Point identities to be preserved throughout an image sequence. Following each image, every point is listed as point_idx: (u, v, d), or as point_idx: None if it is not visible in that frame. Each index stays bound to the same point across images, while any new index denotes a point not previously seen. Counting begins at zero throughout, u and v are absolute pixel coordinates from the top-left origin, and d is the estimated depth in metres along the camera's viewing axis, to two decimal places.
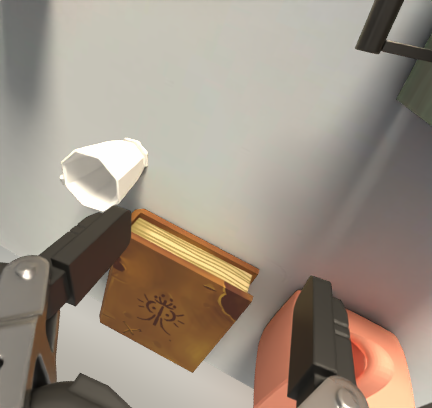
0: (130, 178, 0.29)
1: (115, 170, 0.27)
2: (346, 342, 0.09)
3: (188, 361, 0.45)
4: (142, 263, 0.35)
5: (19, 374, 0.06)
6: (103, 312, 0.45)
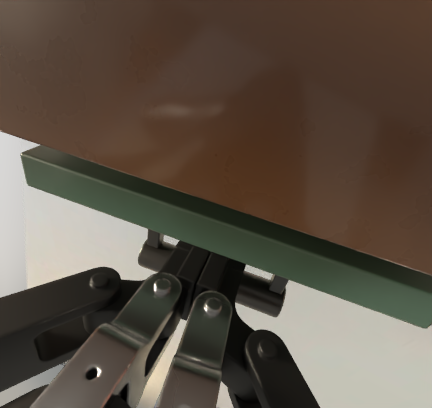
0: None
1: None
2: (238, 274, 0.10)
3: None
4: None
5: (98, 399, 0.06)
6: None
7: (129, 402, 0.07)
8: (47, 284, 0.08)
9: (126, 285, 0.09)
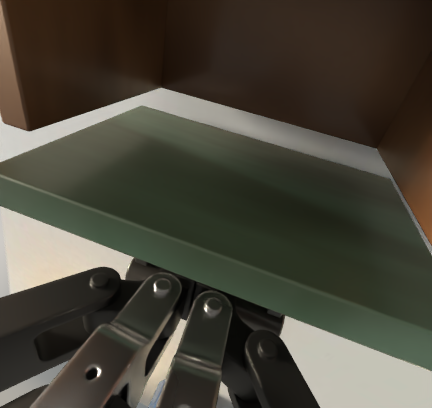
0: None
1: None
2: None
3: None
4: None
5: (98, 399, 0.06)
6: None
7: (129, 402, 0.07)
8: (47, 284, 0.08)
9: (126, 285, 0.09)
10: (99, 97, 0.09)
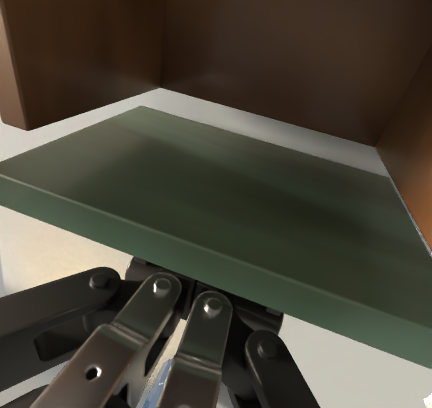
0: None
1: None
2: None
3: None
4: None
5: (98, 399, 0.06)
6: None
7: (129, 402, 0.07)
8: (47, 284, 0.08)
9: (126, 285, 0.09)
10: (98, 97, 0.09)
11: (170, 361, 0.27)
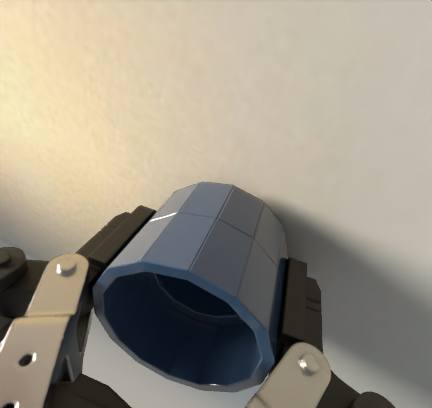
0: None
1: None
2: (317, 316, 0.09)
3: None
4: None
5: (44, 374, 0.06)
6: None
7: (73, 377, 0.08)
8: None
9: (36, 265, 0.09)
10: None
11: (178, 191, 0.12)
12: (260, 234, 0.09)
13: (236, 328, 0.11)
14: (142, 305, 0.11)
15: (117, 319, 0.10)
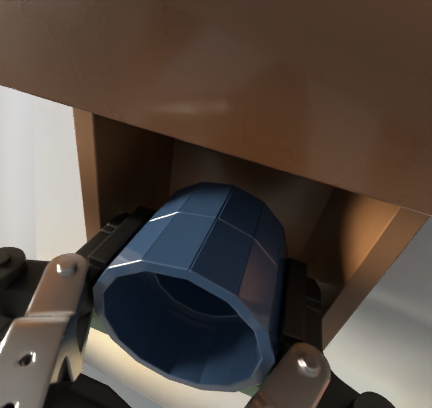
0: None
1: None
2: (317, 316, 0.09)
3: None
4: None
5: (44, 374, 0.06)
6: None
7: (73, 377, 0.08)
8: None
9: (36, 265, 0.09)
10: None
11: (178, 191, 0.12)
12: (260, 234, 0.09)
13: (236, 328, 0.11)
14: (142, 305, 0.11)
15: (117, 319, 0.10)
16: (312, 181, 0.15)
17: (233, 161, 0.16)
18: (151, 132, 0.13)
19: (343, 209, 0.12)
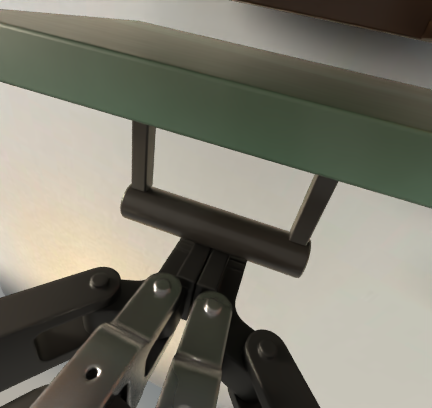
0: None
1: None
2: (238, 274, 0.10)
3: None
4: None
5: (98, 399, 0.06)
6: None
7: (129, 402, 0.07)
8: (47, 284, 0.08)
9: (126, 285, 0.09)
10: None
11: None
12: None
13: None
14: None
15: None
16: None
17: None
18: None
19: None
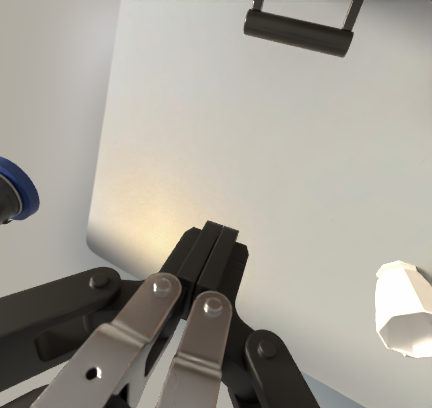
0: (425, 293, 0.27)
1: (410, 306, 0.25)
2: (238, 274, 0.10)
3: None
4: None
5: (98, 399, 0.06)
6: None
7: (129, 402, 0.07)
8: (47, 284, 0.08)
9: (126, 285, 0.09)
10: None
11: None
12: None
13: None
14: None
15: None
16: None
17: None
18: None
19: None
